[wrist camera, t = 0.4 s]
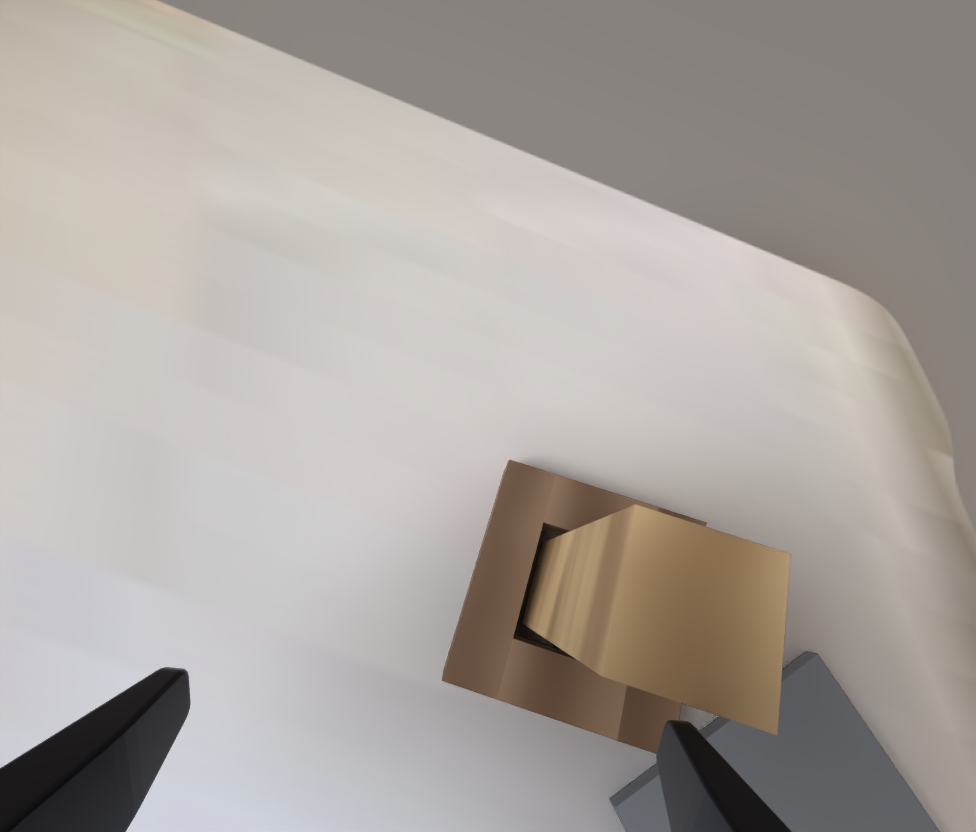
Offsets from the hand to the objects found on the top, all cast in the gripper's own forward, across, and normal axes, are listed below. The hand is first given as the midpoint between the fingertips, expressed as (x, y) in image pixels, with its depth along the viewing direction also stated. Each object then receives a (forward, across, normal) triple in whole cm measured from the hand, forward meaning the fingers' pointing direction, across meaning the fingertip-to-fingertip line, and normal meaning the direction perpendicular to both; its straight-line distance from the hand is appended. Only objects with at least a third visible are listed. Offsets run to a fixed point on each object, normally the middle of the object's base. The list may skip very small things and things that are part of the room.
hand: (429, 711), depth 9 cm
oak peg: (+13, -6, +7) cm, 16 cm away
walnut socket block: (+13, -6, +7) cm, 16 cm away
